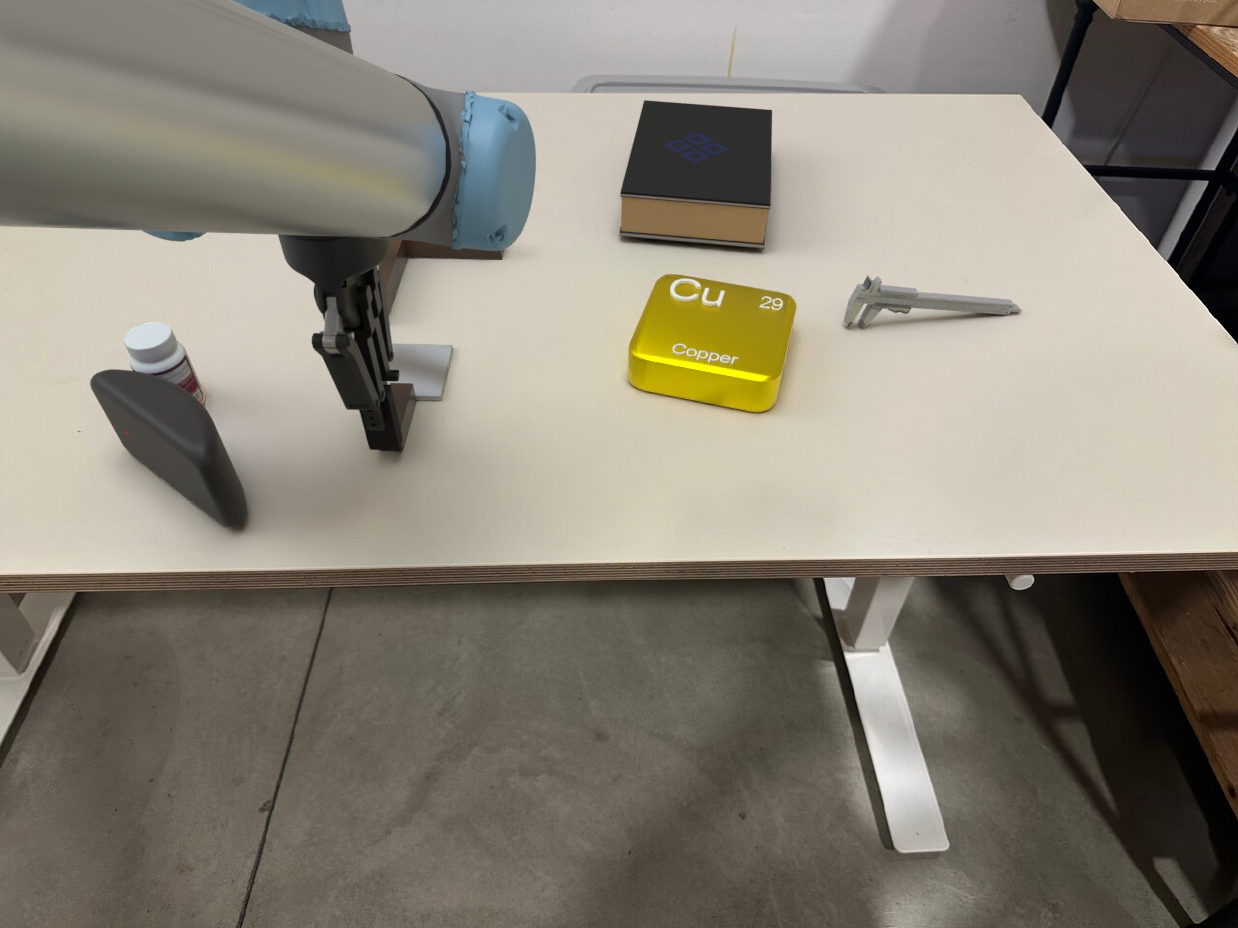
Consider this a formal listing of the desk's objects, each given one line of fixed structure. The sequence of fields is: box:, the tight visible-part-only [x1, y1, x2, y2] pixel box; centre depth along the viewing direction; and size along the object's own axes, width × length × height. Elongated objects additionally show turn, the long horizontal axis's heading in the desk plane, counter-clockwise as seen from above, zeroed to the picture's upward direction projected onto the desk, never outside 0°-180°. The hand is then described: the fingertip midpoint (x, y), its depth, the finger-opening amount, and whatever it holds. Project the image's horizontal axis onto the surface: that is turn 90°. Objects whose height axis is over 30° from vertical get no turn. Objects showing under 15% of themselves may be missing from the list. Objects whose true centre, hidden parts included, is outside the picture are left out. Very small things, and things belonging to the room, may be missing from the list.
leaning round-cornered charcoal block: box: [89, 368, 247, 529], centre depth 73 cm, size 16×5×9 cm, turn 53°
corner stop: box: [383, 240, 505, 317], centre depth 102 cm, size 32×13×3 cm, turn 179°
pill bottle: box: [123, 321, 206, 406], centre depth 80 cm, size 5×5×8 cm
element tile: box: [627, 273, 798, 413], centre depth 88 cm, size 15×15×5 cm
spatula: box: [378, 342, 454, 452], centre depth 83 cm, size 15×7×2 cm, turn 179°
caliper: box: [843, 275, 1023, 330], centre depth 92 cm, size 20×1×6 cm, turn 100°
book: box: [618, 99, 773, 250], centre depth 110 cm, size 17×25×7 cm
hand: (386, 444), depth 77 cm, fingers closed
